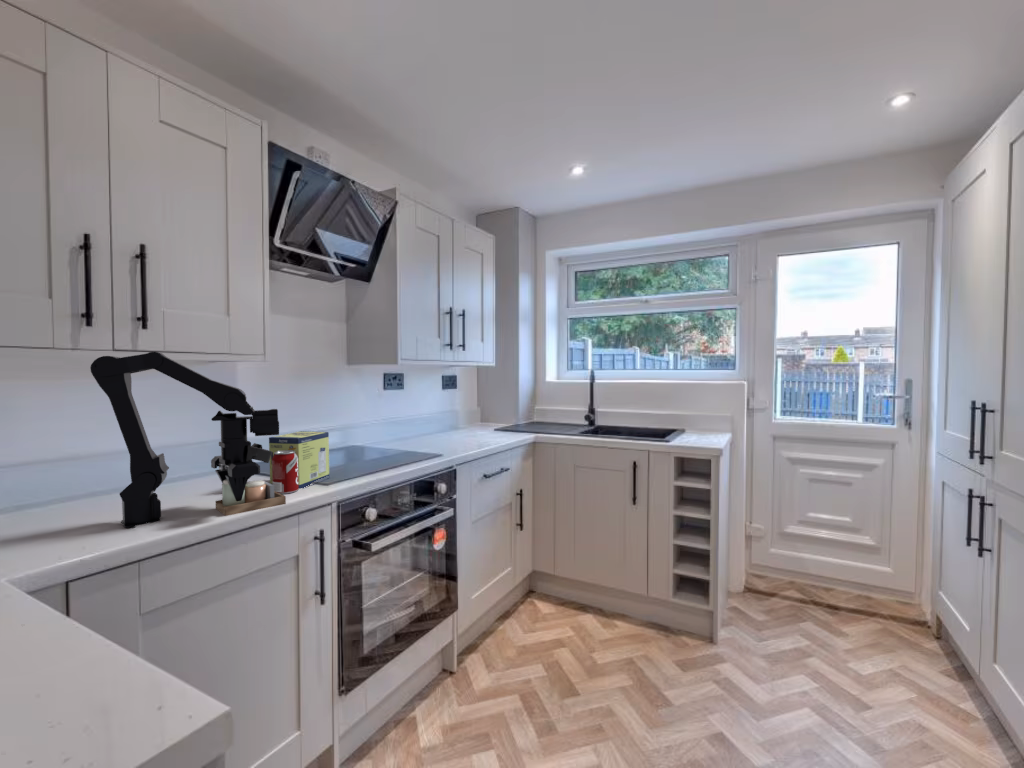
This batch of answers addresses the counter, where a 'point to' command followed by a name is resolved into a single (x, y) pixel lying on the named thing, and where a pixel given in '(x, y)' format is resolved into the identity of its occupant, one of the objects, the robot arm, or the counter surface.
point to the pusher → (269, 490)
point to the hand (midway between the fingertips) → (235, 499)
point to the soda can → (285, 471)
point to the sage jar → (229, 495)
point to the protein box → (304, 454)
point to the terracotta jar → (255, 491)
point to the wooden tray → (251, 505)
